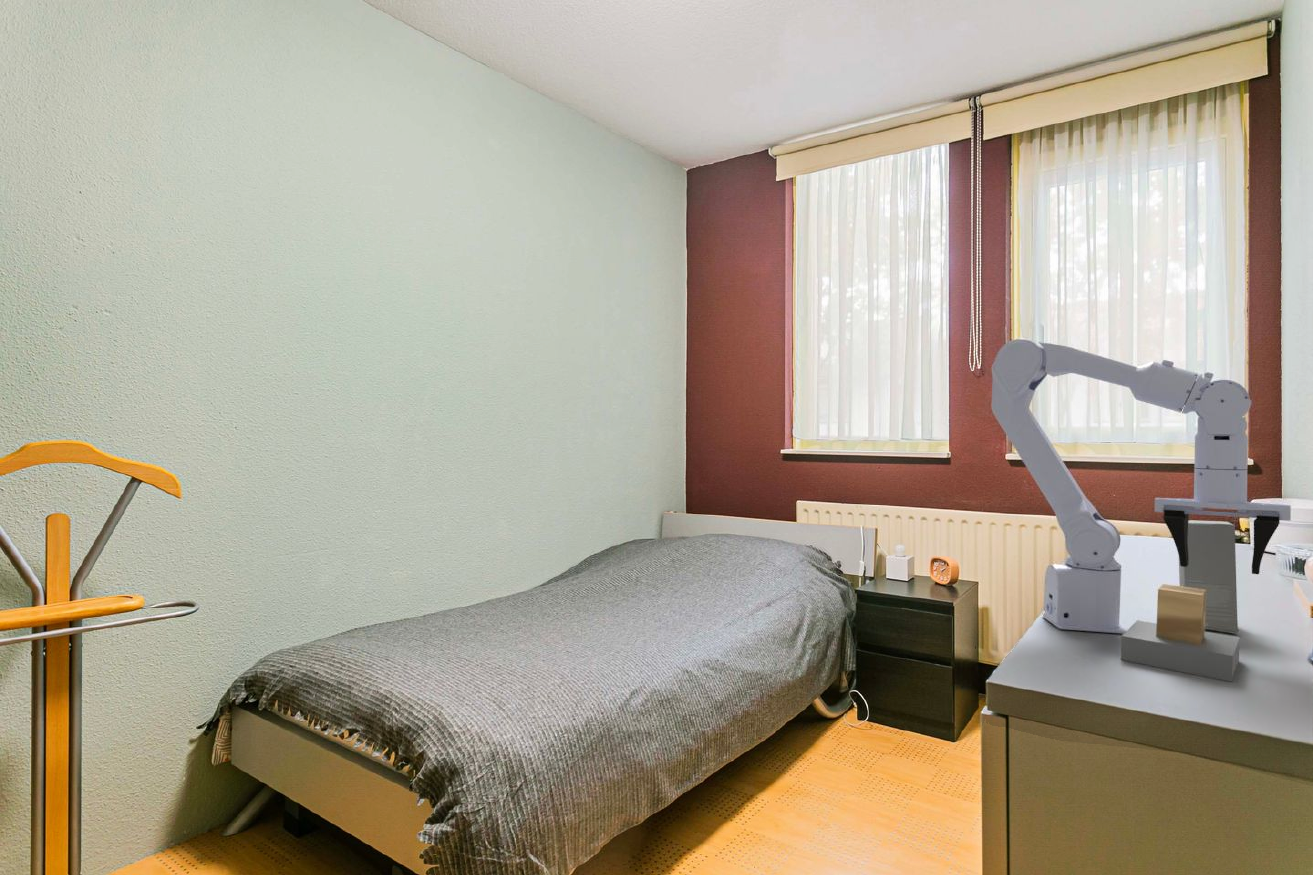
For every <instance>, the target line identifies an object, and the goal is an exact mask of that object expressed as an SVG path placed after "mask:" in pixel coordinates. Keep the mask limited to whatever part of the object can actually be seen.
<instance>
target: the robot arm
mask: <svg viewBox="0 0 1313 875" xmlns="http://www.w3.org/2000/svg"><path fill="white" fill-rule="evenodd" d="M1038 344H1039V345H1041V346H1039V345H1037V344H1036V342H1034V341H1032V340H1031V339H1030V340H1029V339H1027V338H1015V339H1012V340H1010V341H1008V342H1006V343H1005V344H1003V345H1002V346H1001V348H1000V349H999V350H998V352H997V355H996V356H995V358H994V361H993V363H992V366H991V367H990V369H991V375H992V384H991V385H992V386H991V388H992V389H991V411H992V414H993V415H994V417H995V419H996V421H997V422H998V423H999V425H1000V427H1001V428H1002V430H1003V432H1004V434H1005V435H1006V436H1007V438H1008V440H1009V441H1010V443H1011V444H1012V447H1013V448H1014V449H1015V451H1016V452H1017V454H1018V455H1019V457H1020V459H1021V461H1022V462H1023V464H1024V466H1025V467H1026V468H1027V470H1028V472H1029V473H1030V475H1031V477H1032V478H1033V480H1034V482H1035V483H1036V485H1037V486H1038V488H1039V490H1040V491H1041V493H1042V494H1043V495H1044V497H1045V499H1046V501H1047V502H1048V504H1049V505H1050V507H1051V508H1052V510H1053V512H1054V514H1055V518H1056V521H1057V523H1058V526H1059V527H1060V530H1061V531H1062V532H1063V535H1064V539H1065V540H1064V541H1065V543H1064V544H1065V546H1064V547H1065V549H1066V552H1067V553H1068V556H1067V557H1065V558H1064V561H1063V563H1060V564H1055V563H1053V564H1052V563H1051V564H1049V565H1048V566H1047V567H1046V570H1045V573H1044V574H1045V575H1044V590H1043V592H1044V595H1043V613H1044V611H1045V613H1044V614H1043V613H1041V615H1042V614H1043V616H1042V617H1043V618H1044V619H1046V620H1047V621H1048V622H1050V623H1051V624H1053V626H1055V627H1056V628H1057V629H1060V630H1071V631H1084V632H1096V633H1097V632H1098V633H1109V634H1110V633H1112V634H1121V635H1123V634H1124V633H1125V632H1126V631H1127V630H1128V629H1129V628H1127V627H1126V626H1125V625H1124V626H1123V625H1122V624H1121V623H1120V611H1121V610H1120V609H1121V588H1122V586H1121V585H1122V584H1121V582H1122V565H1121V564H1120V563H1119V562H1117V560H1116V558H1115V555H1116V553H1117V551H1118V550H1119V548H1120V546H1121V535H1120V532H1119V530H1118V528H1117V527H1116V526H1115V524H1113V523H1112V522H1111V521H1109V520H1107V519H1105V518H1103V516H1101V514H1100V513H1099V512H1098V511H1097V509H1096V507H1095V506H1094V505H1093V503H1092V502H1091V501H1090V500H1089V499H1088V498H1087V496H1086V495H1085V493H1084V492H1083V491H1082V488H1080V485H1079V484H1078V483H1077V481H1076V479H1075V478H1074V476H1073V475H1072V473H1071V472H1070V470H1069V469H1068V467H1067V466H1066V464H1065V462H1064V460H1063V459H1062V457H1061V456H1060V454H1059V453H1058V451H1057V449H1056V448H1055V447H1054V445H1053V443H1052V442H1051V440H1050V439H1049V437H1048V436H1047V435H1046V433H1045V431H1044V429H1043V428H1042V427H1041V425H1040V423H1039V422H1038V420H1037V419H1036V417H1035V415H1034V413H1033V412H1032V411H1031V410H1030V406H1031V403H1032V400H1033V397H1034V395H1035V392H1036V389H1037V388H1038V387H1039V385H1041V383H1042V382H1043V380H1045V378H1046V377H1047V375H1049V376H1050V377H1053V378H1054V377H1059V376H1063V375H1069V374H1075V375H1079V376H1083V377H1086V378H1091V379H1095V380H1098V381H1102V382H1106V383H1111V384H1114V385H1117V386H1122V387H1125V388H1128V389H1129V390H1130V391H1131V393H1132V395H1133V398H1135V400H1136V401H1139V402H1143V403H1147V404H1150V405H1153V406H1157V407H1160V408H1164V409H1166V410H1169V411H1170V410H1171V411H1174V412H1178V413H1181V414H1183V415H1186V414H1188V413H1192V412H1194V413H1195V414H1196V415H1197V416H1198V417H1197V433H1196V434H1195V435H1194V469H1193V471H1194V472H1193V473H1194V474H1193V475H1194V476H1193V477H1194V478H1193V480H1194V481H1193V483H1194V484H1193V487H1194V488H1193V498H1175V497H1174V498H1172V497H1155V498H1154V513H1163V516H1162V518H1163V521H1164V523H1165V525H1166V527H1167V529H1168V531H1169V532H1170V535H1171V537H1172V539H1173V541H1174V544H1175V548H1176V550H1177V554H1178V560H1179V559H1180V566H1183V567H1187V566H1188V560H1189V556H1188V543H1187V538H1188V520H1189V518H1190V514H1191V515H1203V516H1205V515H1206V516H1220V517H1235V518H1238V517H1239V518H1248V519H1249V518H1250V519H1254V520H1253V553H1252V562H1251V574H1252V575H1260V571H1261V570H1260V569H1261V563H1262V559H1263V557H1264V553H1265V551H1266V549H1267V546H1268V545H1269V542H1270V541H1271V538H1272V537H1273V534H1275V532H1276V530H1277V529H1278V527H1279V525H1280V523H1281V522H1280V521H1287V522H1288V521H1289V522H1290V521H1291V520H1292V519H1291V517H1292V516H1291V514H1292V512H1291V511H1292V509H1291V508H1292V506H1291V504H1280V503H1279V504H1278V503H1268V502H1267V503H1265V502H1264V503H1263V502H1250V501H1248V458H1249V454H1248V452H1249V450H1248V449H1249V446H1248V445H1249V436H1248V435H1247V434H1246V432H1247V429H1248V422H1247V420H1246V419H1247V418H1246V417H1245V415H1247V414H1248V412H1249V410H1250V409H1251V406H1252V400H1251V399H1250V394H1249V393H1248V391H1247V389H1246V388H1245V387H1244V386H1243V385H1242V384H1240V383H1238V382H1236V381H1234V380H1230V379H1219V380H1213V381H1212V379H1213V377H1214V373H1211V372H1209V371H1205V372H1204V373H1203V374H1202V373H1198V372H1195V371H1191V370H1187V369H1183V368H1179V367H1175V366H1174V361H1170V360H1167V359H1163V360H1162V362H1157V361H1151V362H1148V363H1146V364H1143V365H1141V366H1135V365H1132V364H1128V363H1124V362H1121V361H1117V360H1114V359H1111V358H1108V357H1105V356H1101V355H1098V354H1095V353H1091V352H1089V351H1085V350H1082V349H1079V348H1074V347H1071V346H1068V345H1061V344H1057V343H1050V342H1044V341H1038ZM1204 509H1214V510H1215V509H1216V511H1213V510H1204ZM1217 510H1230V511H1229V512H1228V511H1217ZM1231 510H1232V511H1233V510H1235V511H1237V512H1231Z"/></svg>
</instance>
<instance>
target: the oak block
mask: <svg viewBox="0 0 1313 875" xmlns="http://www.w3.org/2000/svg"><path fill="white" fill-rule="evenodd" d="M1156 609H1157V610H1156V612H1157V613H1156V624H1157V630H1156V637H1162V638H1167V639H1173V640H1179V641H1185V642H1190V643H1196V644H1201V643H1202V641H1203V639H1204V635H1205V632H1206V629H1205V610H1206V590H1205V589H1197V588H1190V587H1182V586H1180V585H1174V584H1167V583H1163V584H1162V585H1160V587H1158V589H1157V607H1156Z"/></svg>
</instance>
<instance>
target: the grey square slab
mask: <svg viewBox="0 0 1313 875" xmlns="http://www.w3.org/2000/svg"><path fill="white" fill-rule="evenodd" d="M1127 629H1128V630H1127V631H1126V632H1125V633H1124V634H1121V647H1120V649H1121V651H1120V660H1121V661H1126V662H1130V663H1134V664H1135V663H1136V664H1140V665H1144V666H1145V665H1146V666H1150V667H1151V666H1152V667H1156V668H1161V669H1166V670H1171V671H1175V672H1181V673H1184V674H1185V673H1186V674H1191V675H1196V676H1199V677H1200V676H1201V677H1206V678H1211V679H1214V680H1215V679H1216V680H1221V681H1225V682H1233V680H1234V676H1235V673H1236V671H1237V668H1238V666H1239V661H1240V645H1241V644H1240V643H1241V637H1240V636H1234V635H1230V634H1229V635H1228V634H1223V633H1215V632H1210V631H1205V635H1204V639H1203V641H1202V643H1201V644H1196V643H1190V642H1185V641H1179V640H1173V639H1167V638H1162V637H1156V630H1157V622H1156V623H1155V622H1149V621H1143V620H1138V619H1137V620H1136V621H1135V622H1134V623H1133V624H1132V625H1131V626H1130V627H1129V628H1127Z"/></svg>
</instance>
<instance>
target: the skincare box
mask: <svg viewBox="0 0 1313 875" xmlns="http://www.w3.org/2000/svg"><path fill="white" fill-rule="evenodd" d="M1187 543H1188V556H1189V560H1188V566H1187V567H1183V566H1180V559H1179V558H1178V573H1179V574H1178V575H1179V576H1178V578H1179V586H1182V587H1190V588H1197V589H1205V590H1206V610H1205V630H1209V631H1217V632H1222V633H1228V634H1235V635H1237V634H1238V632H1239V626H1238V625H1239V623H1238V621H1239V620H1238V601H1237V600H1238V598H1237V597H1238V595H1237V591H1238V590H1237V566H1236V565H1237V562H1236V559H1237V558H1236V525H1235V524H1232V523H1231V522H1229V521H1220V520H1217V521H1216V520H1194V519H1193V520H1192V519H1190V520H1189V519H1188V538H1187Z"/></svg>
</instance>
